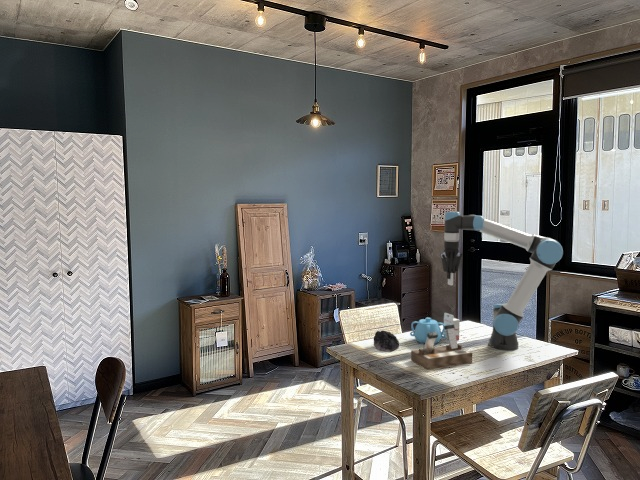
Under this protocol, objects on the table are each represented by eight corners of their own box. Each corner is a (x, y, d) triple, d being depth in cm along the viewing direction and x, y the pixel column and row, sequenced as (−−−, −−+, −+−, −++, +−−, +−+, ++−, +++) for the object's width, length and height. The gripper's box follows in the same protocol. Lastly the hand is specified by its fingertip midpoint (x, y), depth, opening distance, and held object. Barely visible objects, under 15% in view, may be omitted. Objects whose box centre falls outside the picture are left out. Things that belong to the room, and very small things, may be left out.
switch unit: (454, 354, 250) (454, 341, 249) (472, 362, 237) (472, 348, 236) (411, 360, 240) (411, 346, 240) (427, 369, 227) (427, 355, 227)
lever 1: (429, 350, 238) (435, 331, 233) (431, 353, 236) (438, 334, 231) (421, 351, 236) (427, 332, 231) (423, 354, 234) (430, 335, 229)
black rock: (403, 351, 257) (404, 332, 258) (382, 352, 251) (383, 333, 252) (389, 346, 269) (390, 328, 270) (368, 347, 263) (369, 329, 264)
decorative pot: (448, 343, 268) (449, 319, 267) (425, 347, 261) (426, 322, 260) (429, 336, 283) (430, 313, 282) (407, 339, 276) (407, 316, 275)
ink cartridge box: (459, 339, 275) (460, 314, 274) (452, 341, 273) (453, 315, 272) (449, 336, 283) (450, 311, 282) (442, 337, 281) (443, 312, 280)
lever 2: (456, 348, 244) (451, 325, 247) (458, 347, 242) (454, 324, 245) (448, 349, 242) (444, 326, 245) (451, 348, 240) (446, 325, 243)
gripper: (457, 239, 261) (456, 282, 264) (436, 240, 257) (436, 284, 259) (466, 241, 254) (465, 285, 257) (445, 241, 250) (444, 286, 252)
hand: (450, 284), depth 258 cm, fingers closed
